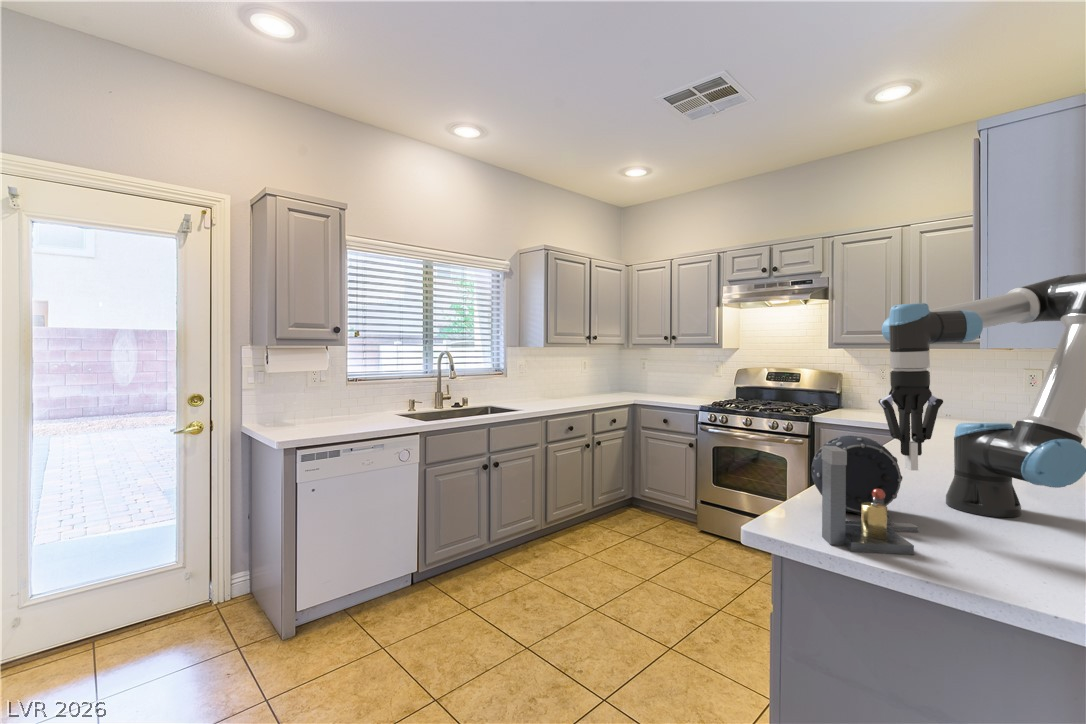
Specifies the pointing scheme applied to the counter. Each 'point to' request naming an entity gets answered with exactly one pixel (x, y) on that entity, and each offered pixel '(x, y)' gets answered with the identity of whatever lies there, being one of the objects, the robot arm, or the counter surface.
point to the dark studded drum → (863, 470)
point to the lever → (879, 499)
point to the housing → (874, 520)
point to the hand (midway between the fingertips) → (911, 468)
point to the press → (835, 513)
